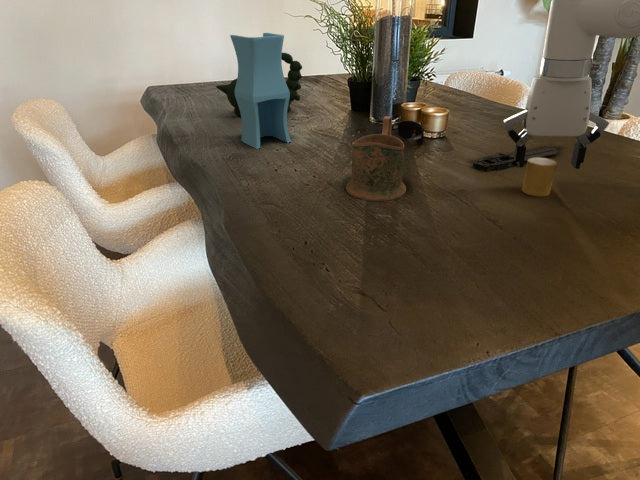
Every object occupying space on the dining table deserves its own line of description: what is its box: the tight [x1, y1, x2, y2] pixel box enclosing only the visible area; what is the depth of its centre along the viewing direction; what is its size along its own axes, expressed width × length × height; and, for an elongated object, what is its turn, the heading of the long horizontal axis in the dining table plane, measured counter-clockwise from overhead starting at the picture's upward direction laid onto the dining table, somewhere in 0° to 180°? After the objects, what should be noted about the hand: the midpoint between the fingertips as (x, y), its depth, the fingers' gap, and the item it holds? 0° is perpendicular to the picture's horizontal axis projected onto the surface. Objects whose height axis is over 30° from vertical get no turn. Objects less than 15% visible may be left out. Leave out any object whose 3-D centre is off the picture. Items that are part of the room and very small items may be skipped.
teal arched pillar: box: [229, 32, 292, 150], centre depth 119 cm, size 10×10×25 cm
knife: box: [472, 147, 560, 172], centre depth 109 cm, size 25×6×1 cm, turn 112°
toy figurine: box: [215, 52, 303, 117], centre depth 145 cm, size 9×19×25 cm
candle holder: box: [521, 157, 558, 197], centre depth 92 cm, size 5×5×6 cm
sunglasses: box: [373, 119, 425, 146], centre depth 120 cm, size 10×12×5 cm
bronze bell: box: [345, 115, 407, 202], centre depth 95 cm, size 12×18×12 cm, turn 163°
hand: (547, 165), depth 91 cm, fingers open, 9 cm apart
